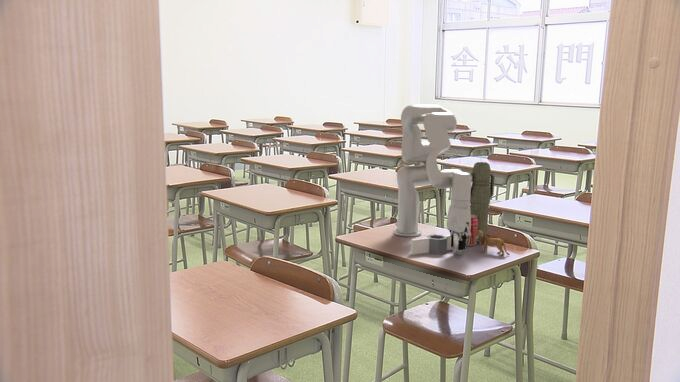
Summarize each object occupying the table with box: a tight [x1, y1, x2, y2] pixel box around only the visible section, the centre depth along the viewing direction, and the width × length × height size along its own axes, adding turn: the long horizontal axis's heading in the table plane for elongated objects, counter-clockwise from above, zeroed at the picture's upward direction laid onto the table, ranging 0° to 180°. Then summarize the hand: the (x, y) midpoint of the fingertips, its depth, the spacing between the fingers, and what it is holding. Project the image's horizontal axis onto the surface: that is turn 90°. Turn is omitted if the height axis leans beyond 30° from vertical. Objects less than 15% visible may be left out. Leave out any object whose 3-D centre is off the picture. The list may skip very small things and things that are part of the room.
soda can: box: [466, 214, 478, 248], centre depth 244 cm, size 7×7×13 cm
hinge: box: [410, 233, 453, 256], centre depth 234 cm, size 8×24×6 cm, turn 116°
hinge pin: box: [452, 232, 464, 258], centre depth 228 cm, size 4×4×10 cm
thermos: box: [470, 161, 496, 245], centre depth 249 cm, size 9×12×35 cm
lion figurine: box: [475, 230, 510, 257], centre depth 232 cm, size 15×5×9 cm, turn 60°
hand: (458, 247), depth 228 cm, fingers closed on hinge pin, 4 cm apart
